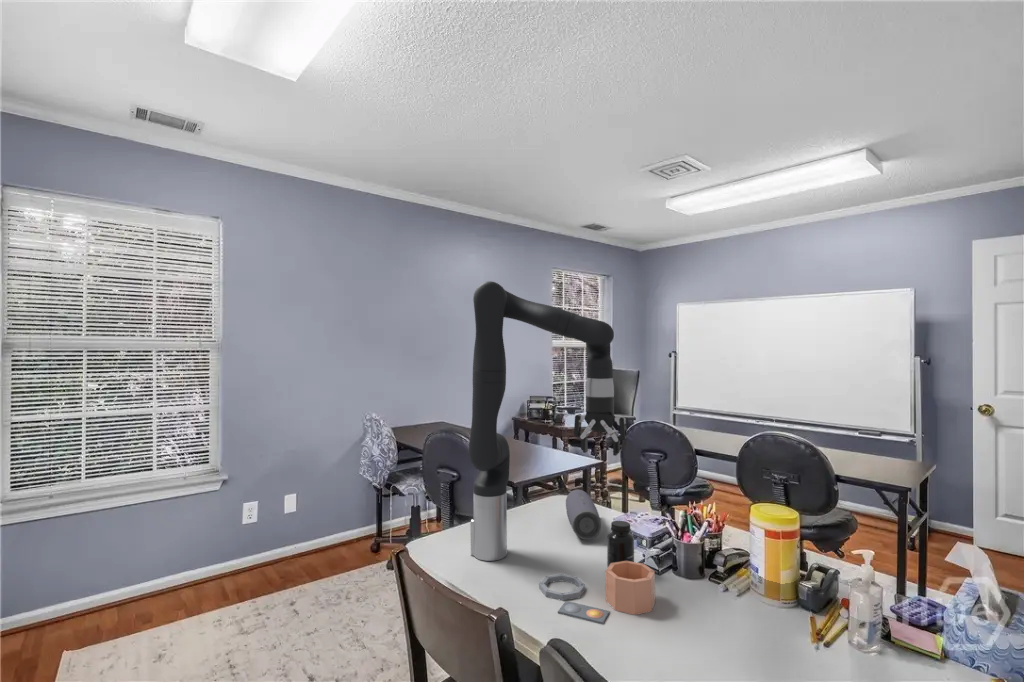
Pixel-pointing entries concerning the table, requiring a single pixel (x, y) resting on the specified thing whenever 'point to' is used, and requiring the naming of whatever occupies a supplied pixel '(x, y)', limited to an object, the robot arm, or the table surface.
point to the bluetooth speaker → (582, 514)
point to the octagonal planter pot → (630, 587)
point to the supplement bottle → (620, 543)
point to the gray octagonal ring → (558, 594)
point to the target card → (584, 612)
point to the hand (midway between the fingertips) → (600, 453)
